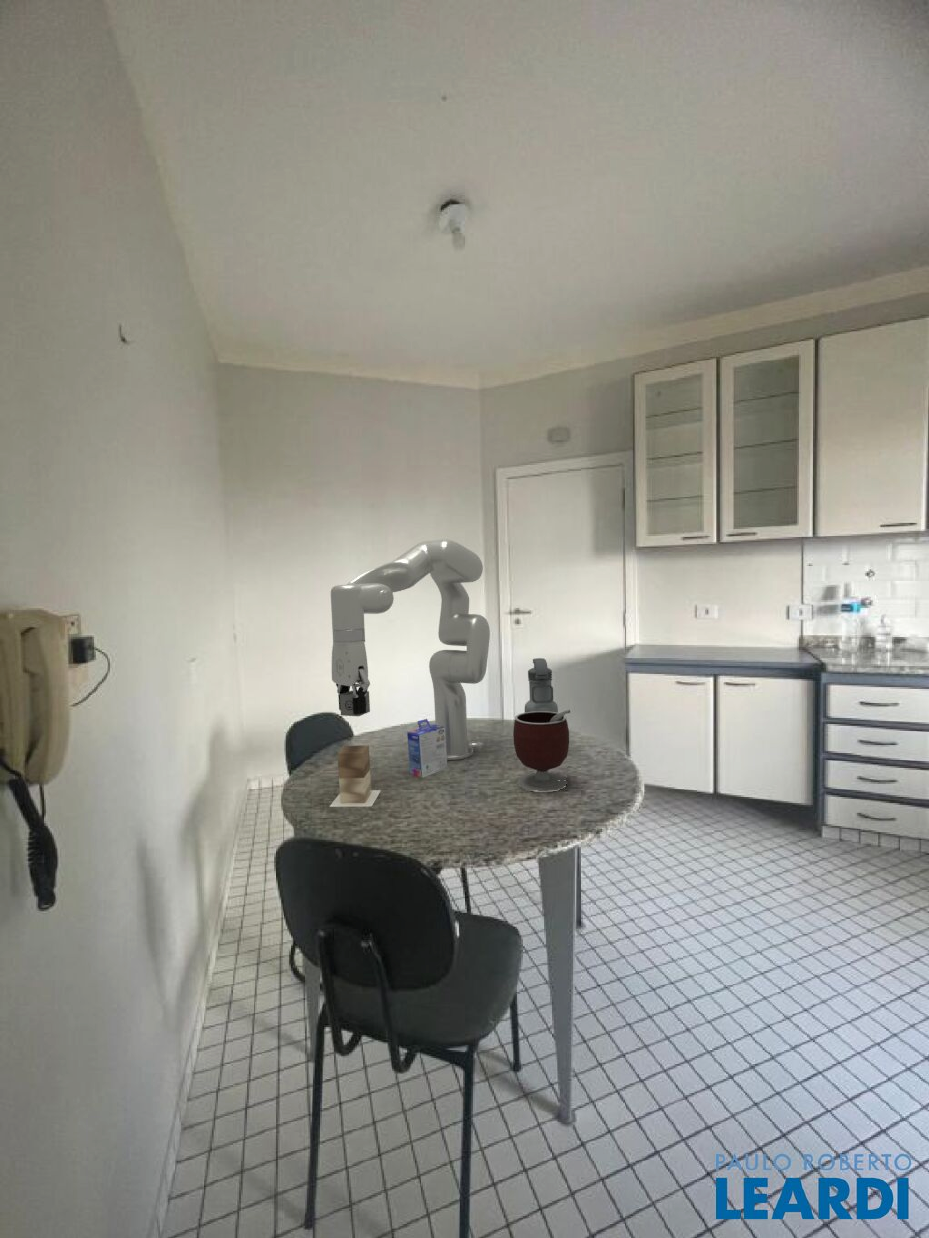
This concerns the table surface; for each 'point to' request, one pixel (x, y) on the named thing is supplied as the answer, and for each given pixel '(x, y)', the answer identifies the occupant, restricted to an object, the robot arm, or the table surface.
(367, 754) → the walnut block
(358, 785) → the beech block
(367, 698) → the grey marked cube
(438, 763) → the ink cartridge box
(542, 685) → the water bottle
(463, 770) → the table surface
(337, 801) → the stone coaster
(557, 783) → the mate gourd
